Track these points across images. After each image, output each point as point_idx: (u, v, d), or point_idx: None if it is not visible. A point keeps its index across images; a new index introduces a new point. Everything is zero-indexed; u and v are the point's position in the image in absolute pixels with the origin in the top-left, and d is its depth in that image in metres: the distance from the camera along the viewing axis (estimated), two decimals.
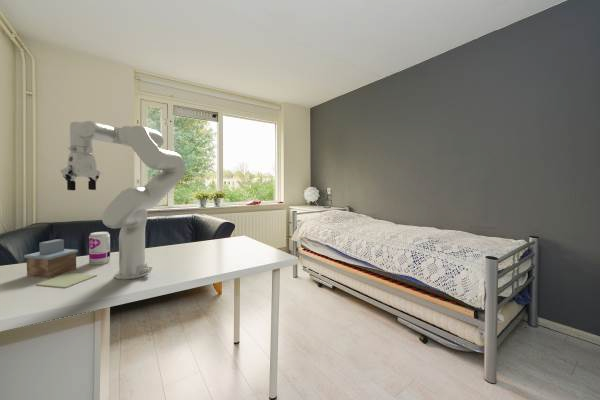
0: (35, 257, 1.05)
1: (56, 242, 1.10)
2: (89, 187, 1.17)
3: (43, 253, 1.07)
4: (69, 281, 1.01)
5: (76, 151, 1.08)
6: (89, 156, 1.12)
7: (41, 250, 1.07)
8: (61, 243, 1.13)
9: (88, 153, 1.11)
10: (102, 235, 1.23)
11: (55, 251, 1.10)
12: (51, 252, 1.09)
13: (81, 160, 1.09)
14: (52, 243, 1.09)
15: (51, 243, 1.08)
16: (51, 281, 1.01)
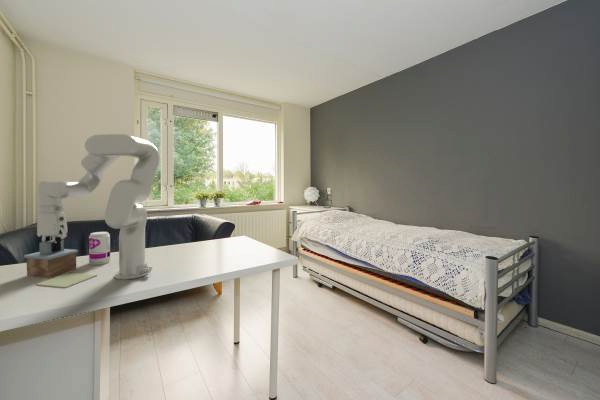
0: (35, 257, 1.05)
1: None
2: None
3: (43, 253, 1.07)
4: (69, 281, 1.01)
5: (61, 210, 1.10)
6: None
7: (41, 250, 1.07)
8: (61, 243, 1.13)
9: None
10: (102, 235, 1.23)
11: None
12: (51, 252, 1.09)
13: None
14: None
15: (51, 243, 1.08)
16: (51, 281, 1.01)
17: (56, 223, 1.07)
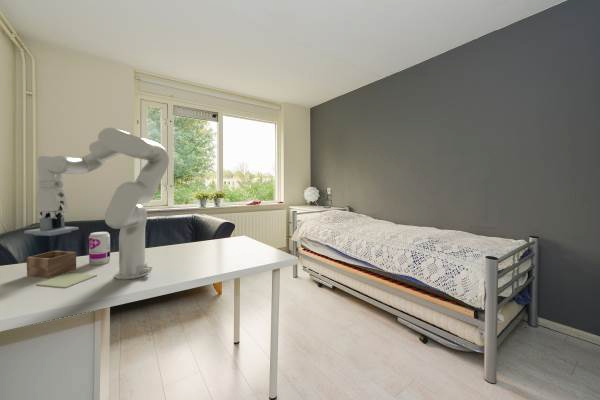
0: (35, 232, 1.04)
1: None
2: None
3: (43, 229, 1.06)
4: (69, 281, 1.01)
5: (61, 186, 1.10)
6: None
7: (41, 226, 1.06)
8: (61, 220, 1.12)
9: None
10: (102, 235, 1.23)
11: None
12: (51, 228, 1.08)
13: None
14: None
15: (51, 219, 1.08)
16: (51, 281, 1.01)
17: (56, 198, 1.07)
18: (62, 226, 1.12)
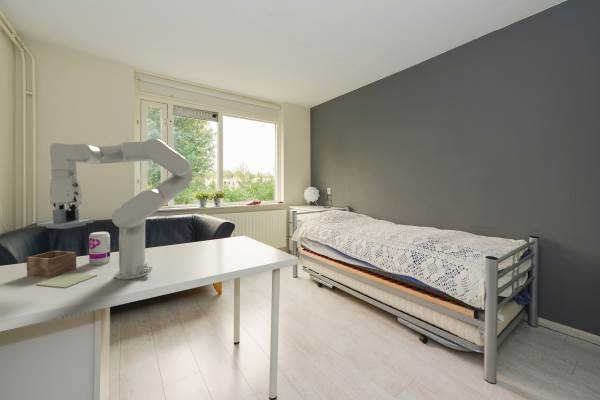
0: (49, 225, 0.97)
1: None
2: None
3: (57, 221, 0.99)
4: (69, 281, 1.01)
5: (75, 176, 1.02)
6: None
7: (55, 218, 0.99)
8: (75, 212, 1.05)
9: None
10: (102, 235, 1.23)
11: None
12: (65, 221, 1.01)
13: None
14: None
15: (65, 211, 1.01)
16: (51, 281, 1.01)
17: (70, 189, 0.99)
18: (76, 219, 1.05)
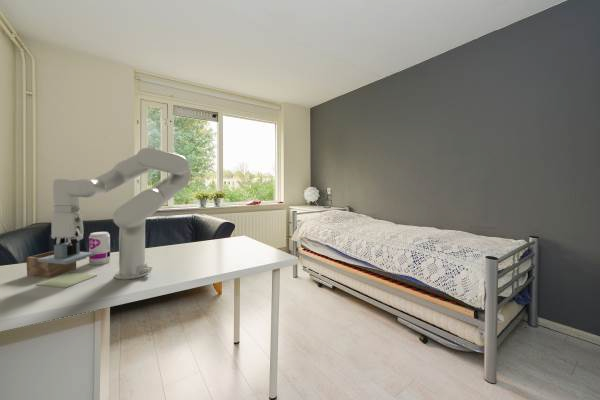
0: (50, 261, 0.97)
1: None
2: None
3: (58, 256, 0.99)
4: (69, 281, 1.01)
5: (77, 210, 1.03)
6: None
7: (56, 253, 0.99)
8: (76, 246, 1.05)
9: None
10: (102, 235, 1.23)
11: None
12: (66, 255, 1.01)
13: None
14: None
15: (66, 246, 1.01)
16: (51, 281, 1.01)
17: (72, 224, 1.00)
18: (77, 252, 1.05)
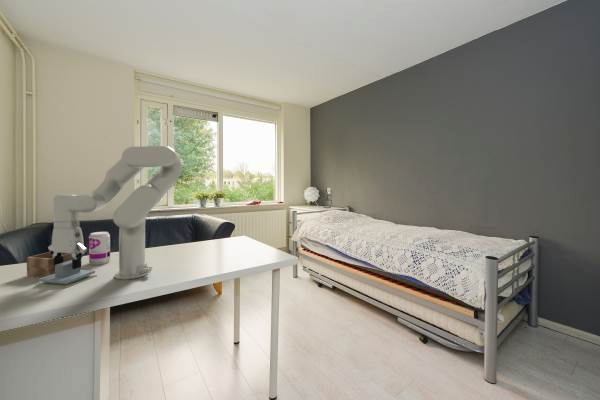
0: (51, 281, 0.98)
1: None
2: None
3: (59, 276, 1.00)
4: None
5: (77, 225, 1.03)
6: None
7: (57, 273, 1.00)
8: None
9: None
10: (102, 235, 1.23)
11: (71, 273, 1.03)
12: (67, 275, 1.01)
13: None
14: (69, 265, 1.02)
15: (67, 265, 1.01)
16: None
17: (72, 240, 1.00)
18: (78, 271, 1.06)
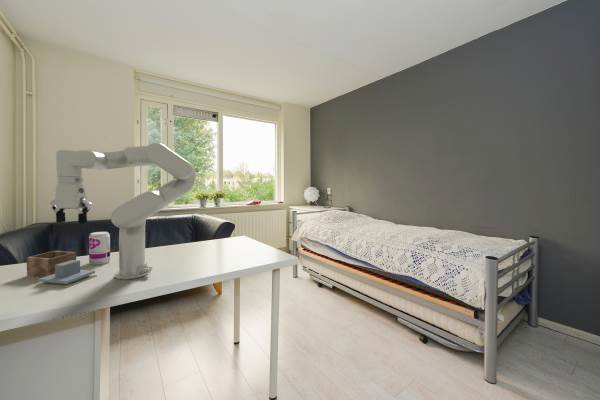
0: (51, 281, 0.98)
1: (72, 263, 1.03)
2: (59, 220, 1.03)
3: (59, 276, 1.00)
4: None
5: (80, 182, 1.04)
6: None
7: (57, 273, 1.00)
8: (77, 264, 1.05)
9: None
10: (102, 235, 1.23)
11: (71, 273, 1.03)
12: (67, 275, 1.01)
13: None
14: (69, 265, 1.02)
15: (67, 265, 1.01)
16: None
17: (76, 195, 1.01)
18: (78, 271, 1.06)
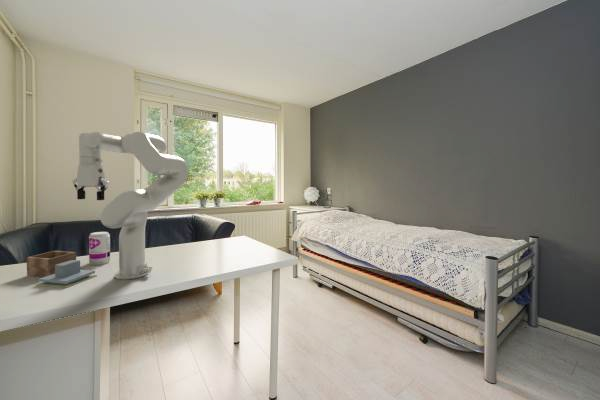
0: (51, 281, 0.98)
1: (72, 263, 1.03)
2: (80, 197, 1.14)
3: (59, 276, 1.00)
4: None
5: (100, 163, 1.14)
6: None
7: (57, 273, 1.00)
8: (77, 264, 1.05)
9: None
10: (102, 235, 1.23)
11: (71, 273, 1.03)
12: (67, 275, 1.01)
13: None
14: (69, 265, 1.02)
15: (67, 265, 1.01)
16: None
17: (96, 174, 1.12)
18: (78, 271, 1.06)
